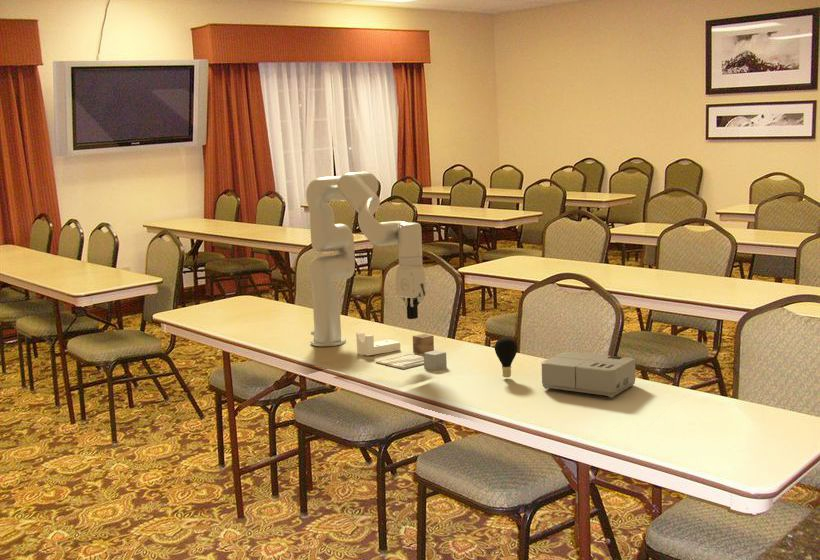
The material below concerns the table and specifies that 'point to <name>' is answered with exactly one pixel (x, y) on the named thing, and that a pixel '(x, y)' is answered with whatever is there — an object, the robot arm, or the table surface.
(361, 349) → the bracket
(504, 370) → the light bulb
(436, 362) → the block
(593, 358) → the projector
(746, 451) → the table surface
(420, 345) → the walnut block
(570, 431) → the table surface
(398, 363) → the brown white flat panel
